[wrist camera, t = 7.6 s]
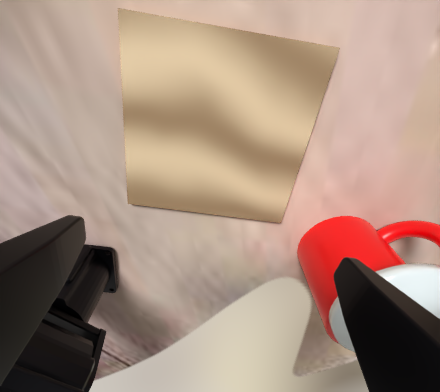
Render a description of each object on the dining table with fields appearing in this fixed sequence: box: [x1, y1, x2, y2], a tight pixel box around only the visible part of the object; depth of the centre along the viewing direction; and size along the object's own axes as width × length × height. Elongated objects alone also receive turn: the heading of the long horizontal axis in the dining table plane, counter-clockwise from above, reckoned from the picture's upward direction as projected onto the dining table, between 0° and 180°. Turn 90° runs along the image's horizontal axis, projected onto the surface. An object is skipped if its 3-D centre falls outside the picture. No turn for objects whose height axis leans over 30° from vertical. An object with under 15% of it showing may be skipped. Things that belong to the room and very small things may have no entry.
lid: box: [329, 263, 440, 352], centre depth 15 cm, size 9×9×5 cm
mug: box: [297, 216, 440, 344], centre depth 20 cm, size 8×12×8 cm, turn 130°
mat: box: [118, 8, 340, 223], centre depth 19 cm, size 14×14×1 cm
